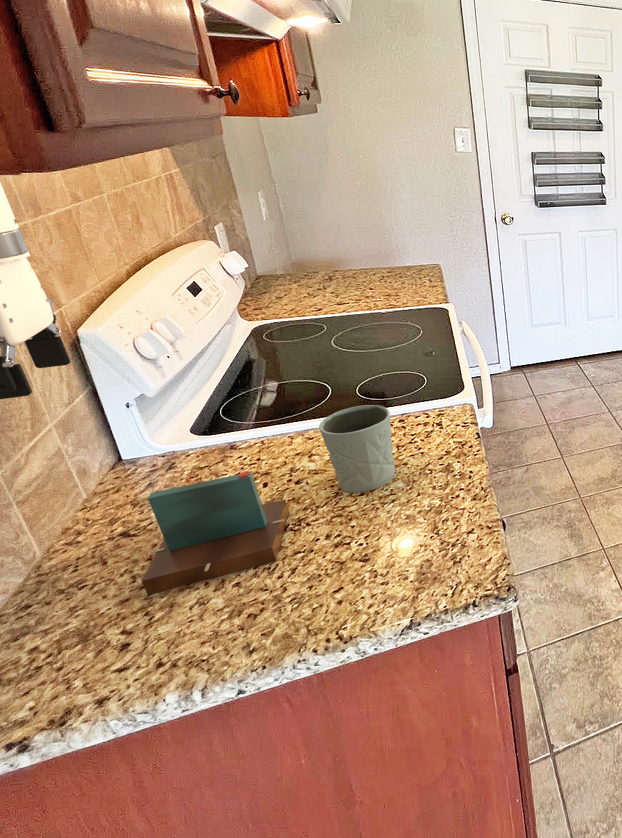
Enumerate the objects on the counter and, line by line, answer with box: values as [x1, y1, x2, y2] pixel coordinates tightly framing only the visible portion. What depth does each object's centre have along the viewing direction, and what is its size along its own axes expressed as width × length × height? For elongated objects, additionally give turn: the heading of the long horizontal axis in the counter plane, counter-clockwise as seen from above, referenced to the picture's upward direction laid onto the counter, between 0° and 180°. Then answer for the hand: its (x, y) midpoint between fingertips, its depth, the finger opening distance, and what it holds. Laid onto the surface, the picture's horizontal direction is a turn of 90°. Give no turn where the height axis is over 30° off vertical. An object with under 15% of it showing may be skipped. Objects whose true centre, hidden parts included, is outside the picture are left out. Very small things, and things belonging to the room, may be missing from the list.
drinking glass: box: [318, 404, 396, 494], centre depth 99 cm, size 10×10×12 cm
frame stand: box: [141, 499, 290, 596], centre depth 83 cm, size 15×15×3 cm
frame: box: [147, 470, 267, 551], centre depth 81 cm, size 11×1×9 cm, turn 119°
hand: (34, 380), depth 72 cm, fingers open, 9 cm apart
